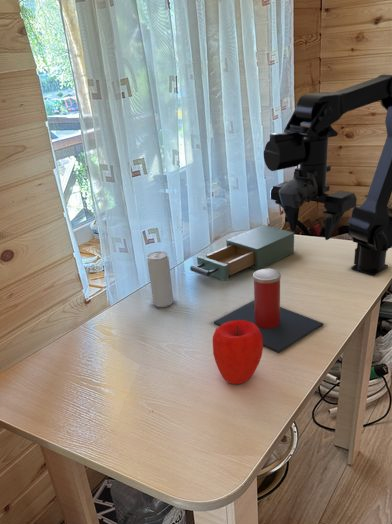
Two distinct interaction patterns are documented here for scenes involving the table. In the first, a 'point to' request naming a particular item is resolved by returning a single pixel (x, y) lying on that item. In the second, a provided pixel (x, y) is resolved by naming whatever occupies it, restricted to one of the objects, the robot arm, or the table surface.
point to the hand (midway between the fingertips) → (310, 235)
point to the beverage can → (160, 278)
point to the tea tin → (267, 298)
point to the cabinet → (265, 244)
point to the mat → (281, 335)
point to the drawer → (224, 262)
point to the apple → (237, 350)
